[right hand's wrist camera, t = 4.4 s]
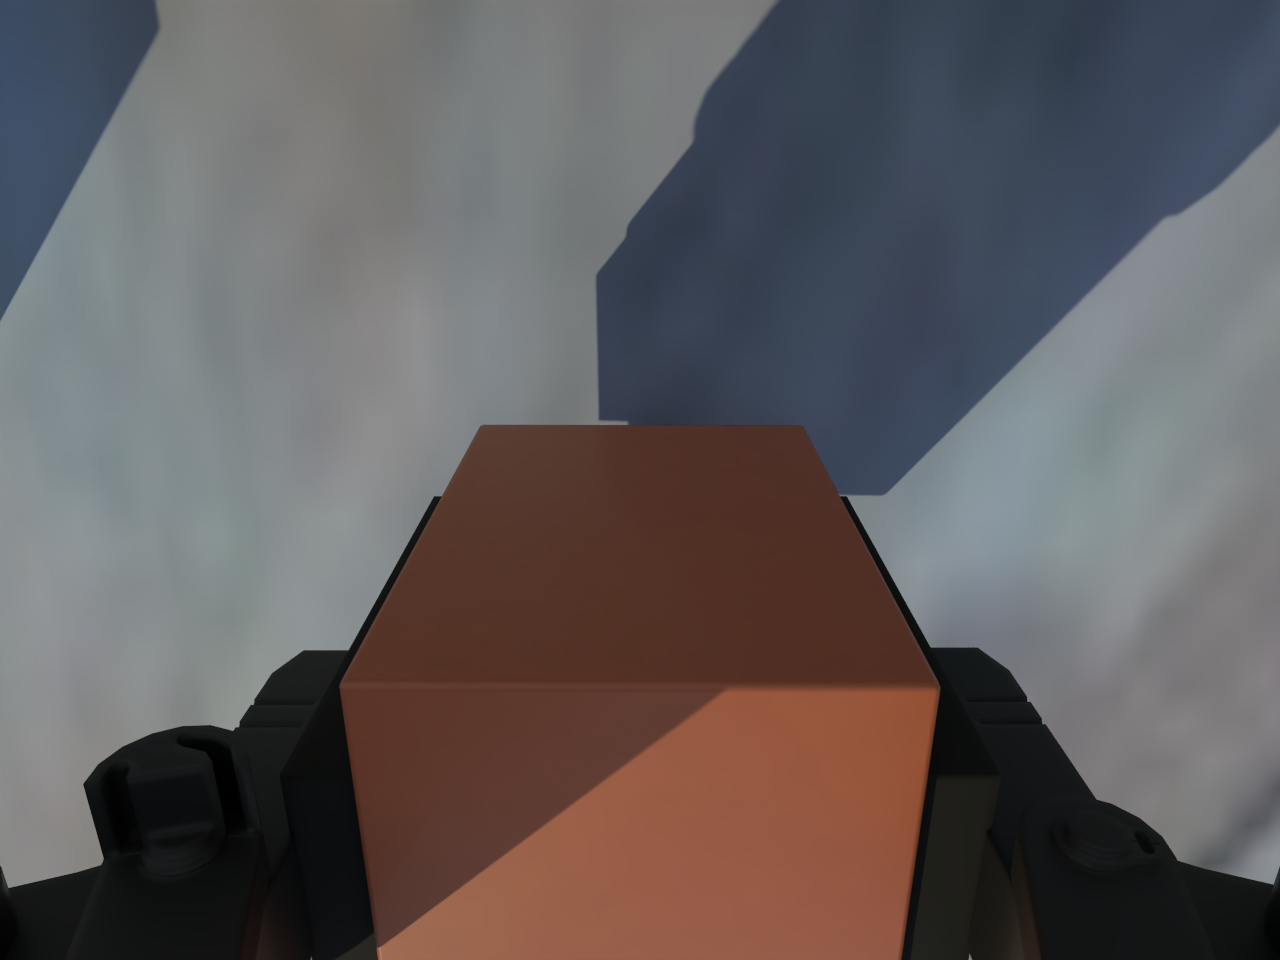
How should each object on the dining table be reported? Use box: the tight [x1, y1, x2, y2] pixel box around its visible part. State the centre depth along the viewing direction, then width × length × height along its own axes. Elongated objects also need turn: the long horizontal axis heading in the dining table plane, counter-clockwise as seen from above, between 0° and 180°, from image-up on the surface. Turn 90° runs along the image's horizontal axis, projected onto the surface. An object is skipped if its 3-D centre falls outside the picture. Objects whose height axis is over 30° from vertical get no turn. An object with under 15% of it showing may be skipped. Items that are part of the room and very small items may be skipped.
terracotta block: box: [339, 425, 940, 960], centre depth 12 cm, size 5×5×7 cm
